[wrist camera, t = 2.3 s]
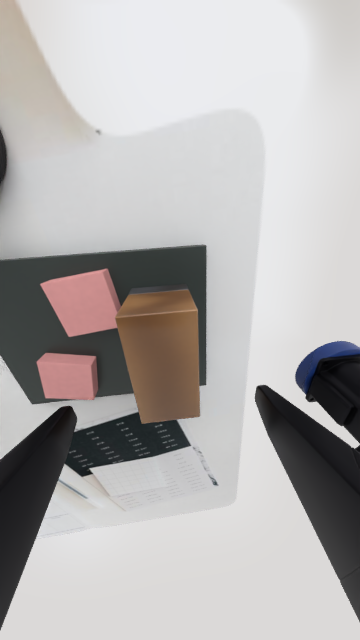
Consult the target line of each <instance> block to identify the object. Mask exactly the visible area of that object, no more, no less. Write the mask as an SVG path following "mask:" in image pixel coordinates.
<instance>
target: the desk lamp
mask: <svg viewBox="0 0 360 640" xmlns="http://www.w3.org/2000/svg"><path fill="white" fill-rule="evenodd" d="M5 168H6V151H5V145H4V140H3V137H2V134H1V131H0V183H1V181H2V179H3V176H4V173H5Z"/></svg>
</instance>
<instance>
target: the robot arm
mask: <svg viewBox="0 0 360 640" xmlns="http://www.w3.org/2000/svg"><path fill="white" fill-rule="evenodd" d="M306 399H307V401H308V402H316V401H317V402H318V403H319V404H320V405H321V406H322V407H323V408H324V410H325V411H327V413H328V414H329V415H330V416H331V417H332V418H333V419H334V420H335V421H336V423H337V424H339V425H340V426H344V427H345V428H346V429H347V430H348V431H349V433H350V434H352V436H353V437H354V438H355V439H356V440H357V441H358V442H359V443H360V354H356V355H346V356H337V357H328V358H322V359H320V360H319V362H318V364H317V367H316V370H315V373H314V375H313V378H312V381H311V384H310V386H309V389H308V392H307V395H306ZM255 402H256V404H257V407H258V410H259V413H260V415H261V418H262V420H263V423H264V426H265V428H266V431H267V433H268V436H269V438H270V440H271V442H272V444H273V446H274V448H275V450H276V452H277V454H278V456H279V458H280V460H281V462H282V464H283V466H284V468H285V470H286V473H287V474H288V476H289V479H290V480H291V483H292V485H293V487H294V489H295V491H296V493H297V495H298V497H299V499H300V501H301V503H302V505H303V507H304V509H305V511H306V513H307V515H308V517H309V519H310V521H311V523H312V525H313V527H314V529H315V531H316V534H317V536H318V537H319V540H320V542H321V544H322V546H323V547H324V550H325V552H326V554H327V556H328V558H329V560H330V562H331V564H332V566H333V568H334V570H335V572H336V574H337V576H338V578H339V579H340V582H341V585H342V587H343V589H344V591H345V593H346V595H347V597H348V599H349V601H350V603H351V605H352V607H353V609H354V611H355V613H356V615H357V617H358V619H359V621H360V445H359V446H358V447H357V448H355V449H354V448H351V446H350V445H348V444H347V443H346V442H344V441H343V440H341V439H340V438H339V437H337V436H336V435H334V434H333V433H332V432H330V431H329V430H328V429H326V428H325V427H323V426H322V425H321V424H319V423H318V422H316V421H315V420H314V419H312V418H311V417H310V416H308V415H307V414H305V413H304V412H303V411H301V410H300V409H299V408H297V407H296V406H294V405H293V404H291V403H290V402H289V401H287V400H286V399H285V398H283V397H282V396H280V395H279V394H278V393H276V392H275V391H273V390H272V389H271V388H269V387H268V386H266V385H260V386H257V388H256V393H255ZM76 423H77V416H76V414H75V412H74V410H73V408H72V407H71V406H63V407H61V408H59V409H58V410H57V411H56V412H55V413H53V414H52V415H51V416H50V417H49V418H48V419H47V420H45V421H44V422H43V423H42V424H41V425H40V426H39V427H37V428H36V429H35V430H34V431H33V432H32V433H30V434H29V435H28V436H27V437H26V438H25V439H24V440H22V441H21V442H20V443H19V444H18V445H17V446H15V447H14V448H13V449H12V450H11V451H10V452H9V453H7V454H6V455H5V456H4V457H3V458H2V459H1V460H0V630H1V627H2V625H3V622H4V619H5V617H6V614H7V612H8V609H9V606H10V604H11V601H12V598H13V596H14V593H15V591H16V588H17V586H18V583H19V580H20V578H21V575H22V573H23V570H24V567H25V565H26V562H27V560H28V557H29V554H30V552H31V549H32V547H33V544H34V541H35V539H36V536H37V534H38V531H39V528H40V526H41V523H42V521H43V518H44V515H45V513H46V510H47V508H48V505H49V502H50V500H51V497H52V495H53V492H54V489H55V487H56V484H57V481H58V479H59V476H60V474H61V471H62V468H63V466H64V463H65V460H66V458H67V454H68V451H69V448H70V444H71V441H72V437H73V433H74V430H75V426H76Z"/></svg>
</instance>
